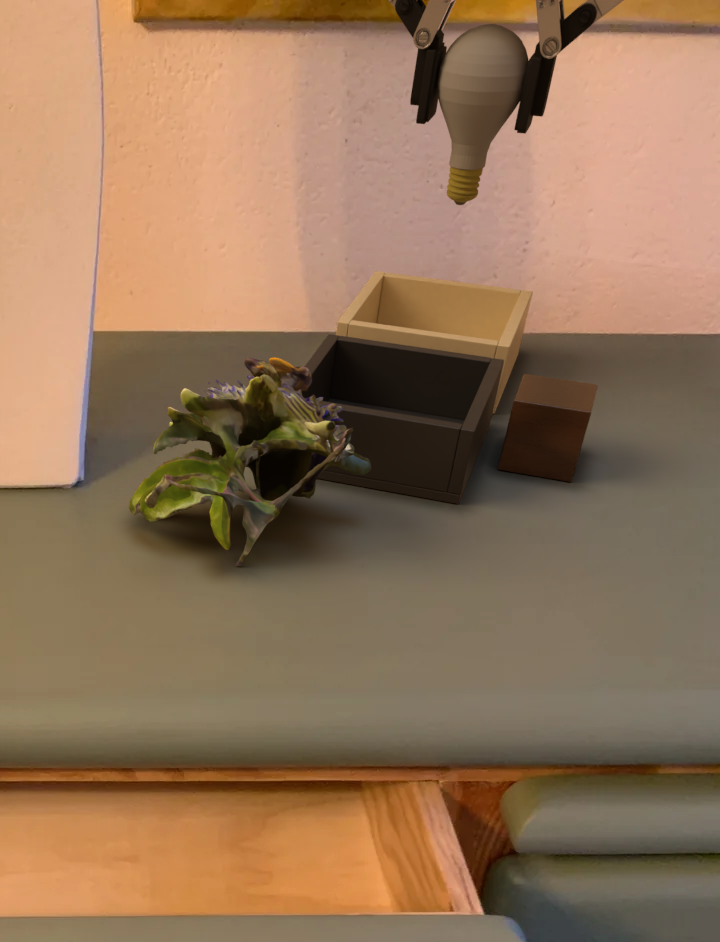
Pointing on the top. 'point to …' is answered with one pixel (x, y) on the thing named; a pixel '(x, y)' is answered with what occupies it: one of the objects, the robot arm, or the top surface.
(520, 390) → the walnut block
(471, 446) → the charcoal bin
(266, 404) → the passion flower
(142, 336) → the top surface
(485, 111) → the light bulb
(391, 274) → the cream bin
